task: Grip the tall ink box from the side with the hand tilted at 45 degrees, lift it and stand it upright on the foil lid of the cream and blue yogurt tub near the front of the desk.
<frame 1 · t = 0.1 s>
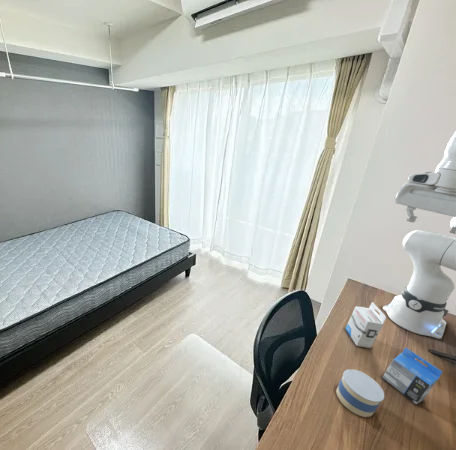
hand: (431, 227, 72), 48 cm above the table, tool pointing down, fingers open, 8 cm apart
yogurt tub: (354, 400, 71), on the table
ink box: (357, 338, 93), on the table
label tape box: (401, 389, 75), on the table
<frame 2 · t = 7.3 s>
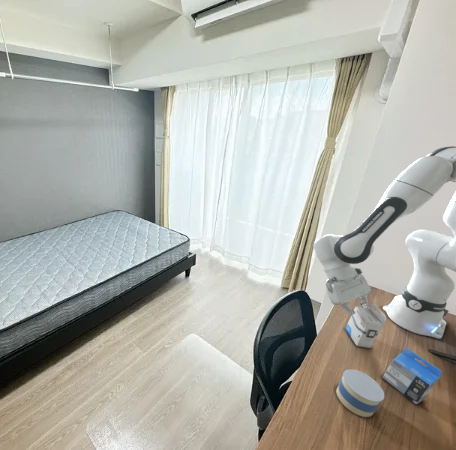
hand: (359, 311, 91), 11 cm above the table, tool tilted 45°, fingers open, 8 cm apart
ink box: (357, 338, 93), on the table, touching gripper
everything else where it was.
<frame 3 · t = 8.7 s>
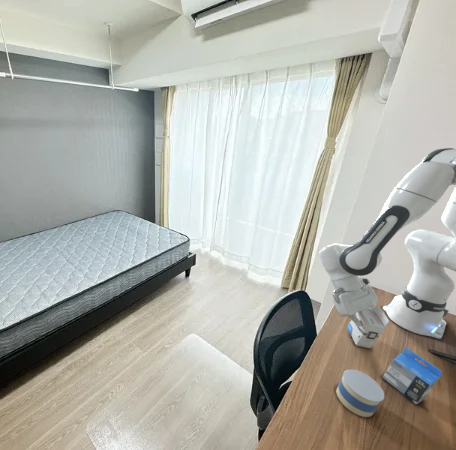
hand: (367, 322, 89), 8 cm above the table, tool tilted 45°, fingers closed on ink box, 8 cm apart
ink box: (358, 337, 93), on the table, touching gripper
everything else where it was.
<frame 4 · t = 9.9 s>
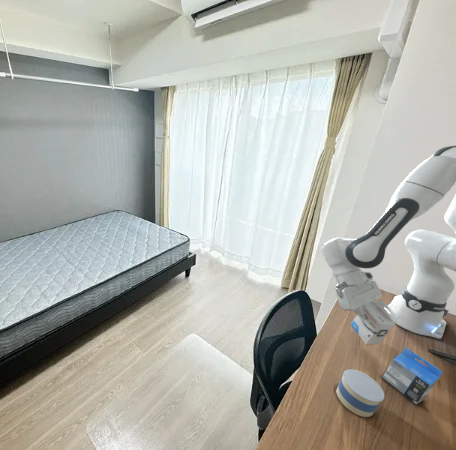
hand: (370, 316, 88), 11 cm above the table, tool tilted 45°, fingers closed on ink box, 6 cm apart
ink box: (363, 334, 91), point 3 cm above the table, touching gripper
everything else where it was.
when the fingers open (16 cm above the table, at t = 20.8 s): ink box stays where it is, resting on yogurt tub.
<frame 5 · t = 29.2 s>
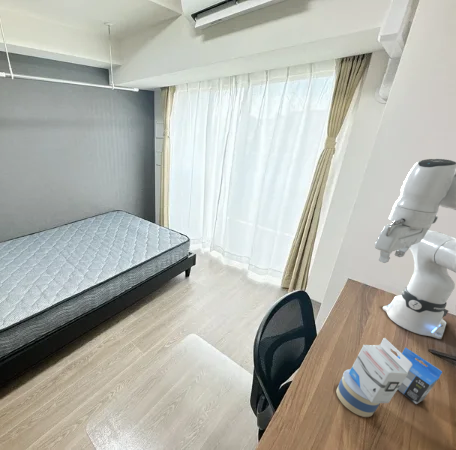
hand: (391, 258, 75), 37 cm above the table, tool pointing down, fingers open, 8 cm apart
ink box: (367, 388, 68), point 7 cm above the table, touching yogurt tub
everything else where it was.
at the end: ink box 1.1 cm off-centre on the yogurt tub, point 6.8 cm above the yogurt tub's base; ink box tilted 0°; the gripper is holding nothing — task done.
